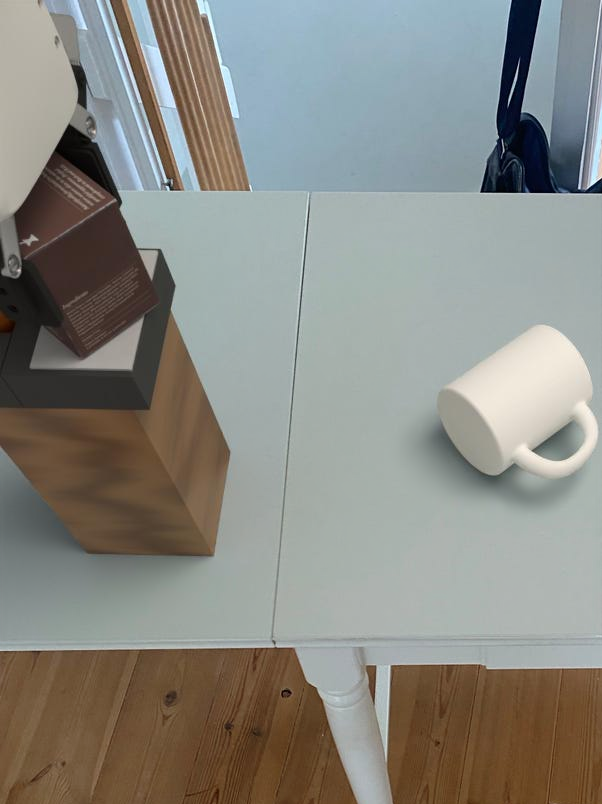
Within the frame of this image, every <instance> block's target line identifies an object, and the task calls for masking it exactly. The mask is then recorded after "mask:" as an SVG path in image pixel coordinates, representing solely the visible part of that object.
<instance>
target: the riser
mask: <svg viewBox="0 0 602 804" xmlns="http://www.w3.org/2000/svg"><path fill="white" fill-rule="evenodd" d="M0 448H1V449H2V450H3V451H4V453H5V454H6V455H7V457H9V459H10V460H11V461H12V462H13V464H14V465H15V466H16V467H17V468H18V470H19V471H20V472H21V474H22V475H24V477H25V478H26V480H27V481H28V483H30V485H31V486H32V487H33V488H34V489H35V491H36V492H37V493H38V494H39V496H40V497H41V498H42V499H43V501H45V503H46V504H47V505H48V506H49V508H50V509H51V510H52V511H53V513H54V514H55V515H56V516H57V517H58V519H59V520H60V521H61V522H62V524H63V526H64V527H65V528H66V529H67V530H68V532H69V533H70V534H71V535H72V537H74V538H75V540H76V541H77V542H78V543H79V545H80V546H81V547H82V548H83V550H84V551H85V552H86V553H87V554H102V555H103V554H109V555H110V554H111V555H153V556H154V555H158V556H161V555H162V556H203V557H205V556H206V557H211V556H212V557H214V556H215V549H216V544H217V538H218V531H219V524H220V520H221V519H220V518H221V512H222V505H223V500H224V492H225V488H226V482H227V481H226V480H227V476H228V475H227V474H228V468H229V461H230V456H231V450H230V447H229V445H228V443H227V441H226V438H225V435H224V433H223V431H222V429H221V426H220V424H219V421H218V419H217V416H216V414H215V412H214V409H213V407H212V404H211V401H210V400H209V397H208V395H207V393H206V390H205V388H204V386H203V383H202V381H201V378H200V377H199V373H198V371H197V369H196V367H195V364H194V361H193V360H192V357H191V355H190V353H189V350H188V348H187V346H186V343H185V340H184V339H183V336H182V334H181V331H180V328H179V326H178V324H177V321H176V319H175V317H174V314H173V312H172V310H171V311H170V316H169V320H168V325H167V330H166V335H165V340H164V344H163V349H162V354H161V359H160V364H159V368H158V373H157V378H156V383H155V388H154V392H153V397H152V402H151V407H150V410H120V409H71V408H25V407H24V408H15V407H0Z"/></svg>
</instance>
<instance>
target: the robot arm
mask: <svg viewBox="0 0 602 804" xmlns="http://www.w3.org/2000/svg"><path fill="white" fill-rule="evenodd" d="M79 44H80V43H79V36H78V27H77V23H76V20H75V18H74V17H73V16H72V15H70V14H63V13H57V12H50V11H49V10H48V8H47V5H46V3H45V1H44V0H0V310H1V312H2V313H3V315H4V316H5V317H6V318H8V319H10V320H13V321H15V322H19V323H25V324H30V323H31V324H37V325H43V326H49V327H55V328H59V327H60V326H61V324H62V322H63V320H64V316H63V313H62V311H61V309H60V308H59V306H58V304H57V302H56V301H55V299H54V297H53V295H52V294H51V292H50V290H49V288H48V287H47V285H46V283H45V282H44V280H43V278H42V276H41V275H40V273H39V271H38V269H37V268H36V266H35V265H34V264H33V263H32V262H31V261H28V260H22V259H21V255H20V248H19V242H18V236H17V230H16V224H15V217H14V213H15V212H16V211H17V210H18V209H19V207H20V206H21V205H22V204H23V202H24V201H25V199H26V198H27V196H28V194H29V193H30V191H31V189H32V188H33V186H34V184H35V183H36V181H37V179H38V178H39V176H40V174H41V172H42V171H43V169H44V167H45V165H46V164H47V162H48V160H49V158H50V157H51V155H52V153H53V151H55V152H57V153H58V154H59V155H60V156H62V157H63V158H64V159H66V160H67V161H68V162H70V163H71V164H72V165H73V166H75V167H76V168H77V169H79V170H80V171H81V172H82V173H84V174H85V175H86V176H88V177H89V178H90V179H92V180H93V181H94V182H95V183H97V184H98V185H99V186H101V187H102V188H103V189H104V190H106V191H107V192H108V193H109V194H111V195H112V196H113V197H114V198H115V199H116V200H117V202H118V205H119V208H120V209H121V207H122V205H123V200H122V197H121V195H120V193H119V191H118V187H117V186H116V184H115V181H114V179H113V176H112V173H111V172H110V169H109V167H108V164H107V162H106V160H105V157H104V155H103V153H102V150H101V148H100V146H99V144H98V142H95V141H92V140H94V139H95V138H96V137H97V132H98V126H97V120H96V118H95V116H94V115H93V113H91V112H90V111H88V97H87V96H88V95H87V85H88V79H87V75H86V72H85V70H84V68H83V66H81V65H79V62H81V54H80V53H81V52H80V47H79V46H80V45H79Z"/></svg>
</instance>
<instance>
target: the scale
mask: <svg viewBox="0 0 602 804" xmlns="http://www.w3.org/2000/svg"><path fill="white" fill-rule="evenodd" d="M137 249H138V251H139V253H140V255H141V258H142V260H143V262H144V265H145V267H146V269H147V271H148V274H149V276H150V278H151V281H152V283H153V285H154V288H155V290H156V292H157V294H158V297H159V298H160V303H159V304H158V305H157V306H155V307H154V308H153V309H151V310H150V311H149V312H147V313H146V314H144V315H143V316H141V317H140V318H139V319H137V320H135V321H134V322H133V323H131V324H130V325H129V326H127V327H126V328H124V329H123V330H122V331H120V332H119V333H117V334H116V335H115V336H113V337H112V338H111V339H109V340H108V341H106V342H105V343H104V344H102V345H101V346H100V347H98V348H97V349H95V350H94V351H93V352H91V353H90V354H88V355H87V356H85V357H84V358H80V357H78V356H77V355H76V354H75V353H74V352H73V351H71V350H70V349H69V348H68V347H67V346H66V345H64V344H63V343H62V342H61V341H60V340H59V339H57V338H56V337H55V336H54V335H53V334H52V333H50V332H49V331H48V330H47V329H46V328H45V327H44V326H42V325H37V324H31V323H30V324H25V323H19V322H16V323H15V327H14V330H13V333H4V332H0V407H15V408H24V407H25V408H71V409H120V410H150V407H151V402H152V397H153V392H154V388H155V383H156V378H157V373H158V368H159V364H160V359H161V354H162V349H163V344H164V340H165V335H166V330H167V325H168V320H169V316H170V311H171V312H172V305H173V301H174V295H175V291H176V288H177V287H176V286H177V285H176V283H175V280H174V277H173V275H172V272H171V270H170V268H169V265H168V263H167V260H166V258H165V255H164V253H163V251H162V248H148V247H146V248H145V247H137Z"/></svg>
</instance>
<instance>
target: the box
mask: <svg viewBox="0 0 602 804" xmlns="http://www.w3.org/2000/svg"><path fill="white" fill-rule="evenodd" d="M14 217H15V224H16V230H17V236H18V242H19V248H20V255H21V259H22V260H28V261H31V262H32V263H33V264H34V265H35V266H36V268H37V269H38V271H39V273H40V275H41V276H42V278H43V280H44V282H45V283H46V285H47V287H48V288H49V290H50V292H51V294H52V295H53V297H54V299H55V301H56V302H57V304H58V306H59V308H60V309H61V311H62V313H63V316H64V320H63V322H62V324H61V326H60V327H59V328H55V327H49V326H44V327H45V328H46V329H47V330H48V331H49V332H50V333H52V334H53V335H54V336H55V337H56V338H57V339H59V340H60V341H61V342H62V343H63V344H64V345H66V346H67V347H68V348H69V349H70V350H71V351H73V352H74V353H75V354H76V355H77V356H78V357H80V358H84V357H85V356H87V355H88V354H90V353H91V352H93V351H94V350H95V349H97V348H98V347H100V346H101V345H102V344H104V343H105V342H106V341H108V340H109V339H111V338H112V337H113V336H115V335H116V334H117V333H119V332H120V331H122V330H123V329H124V328H126V327H127V326H129V325H130V324H131V323H133V322H134V321H135V320H137V319H139V318H140V317H141V316H143V315H144V314H146V313H147V312H149V311H150V310H151V309H153V308H154V307H155V306H157V305H158V304H159V303H160V298H159V297H158V294H157V292H156V290H155V288H154V285H153V283H152V281H151V278H150V276H149V274H148V271H147V269H146V267H145V265H144V262H143V260H142V258H141V255H140V253H139V251H138V249H137V248H138V247H137V245H136V242H135V240H134V238H133V235H132V233H131V231H130V229H129V226H128V223H127V221H126V219H125V217H124V216H123V213H122V210H121V207H120V208H119V205H118V202H117V200H116V199H115V198H114V197H113V196H112V195H111V194H109V193H108V192H107V191H106V190H104V189H103V188H102V187H101V186H99V185H98V184H97V183H95V182H94V181H93V180H92V179H90V178H89V177H88V176H86V175H85V174H84V173H82V172H81V171H80V170H79V169H77V168H76V167H75V166H73V165H72V164H71V163H70V162H68V161H67V160H66V159H64V158H63V157H62V156H60V155H59V154H58V153H57V152H55V151H53V153H52V155H51V157H50V158H49V160H48V162H47V164H46V165H45V167H44V169H43V171H42V172H41V174H40V176H39V178H38V179H37V181H36V183H35V184H34V186H33V188H32V189H31V191H30V193H29V194H28V196H27V198H26V199H25V201H24V202H23V204H22V205H21V206H20V207H19V209H18V210H17V211H16V212H15V213H14ZM42 326H43V325H42Z"/></svg>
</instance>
